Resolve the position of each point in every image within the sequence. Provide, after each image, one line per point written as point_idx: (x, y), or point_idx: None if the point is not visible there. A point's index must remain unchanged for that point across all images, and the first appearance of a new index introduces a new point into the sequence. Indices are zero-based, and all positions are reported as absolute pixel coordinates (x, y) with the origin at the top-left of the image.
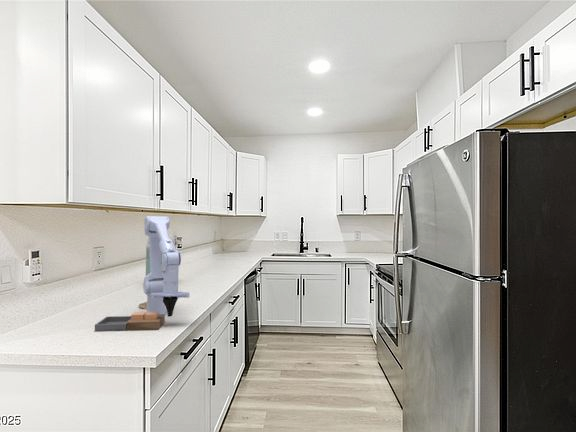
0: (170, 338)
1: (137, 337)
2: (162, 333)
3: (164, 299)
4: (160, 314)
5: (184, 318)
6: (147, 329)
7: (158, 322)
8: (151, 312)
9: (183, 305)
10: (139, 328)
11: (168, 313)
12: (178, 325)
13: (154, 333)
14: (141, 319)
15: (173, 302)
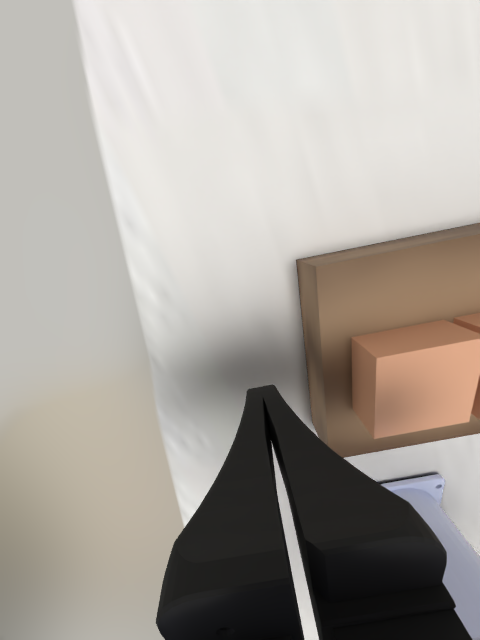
0: (101, 20)
1: (396, 28)
2: (233, 177)
3: (414, 580)
4: (356, 451)
5: None
6: (368, 246)
7: (314, 278)
8: (434, 410)
9: (306, 609)
10: (429, 234)
11: (273, 397)
12: (204, 367)
13: (293, 170)
14: (470, 316)
15: (214, 517)
